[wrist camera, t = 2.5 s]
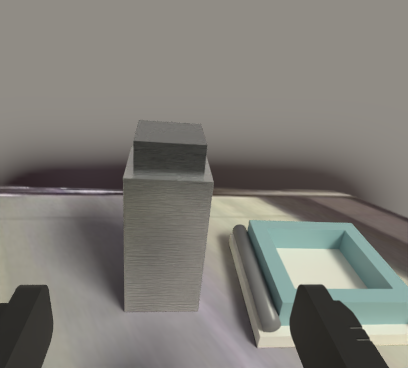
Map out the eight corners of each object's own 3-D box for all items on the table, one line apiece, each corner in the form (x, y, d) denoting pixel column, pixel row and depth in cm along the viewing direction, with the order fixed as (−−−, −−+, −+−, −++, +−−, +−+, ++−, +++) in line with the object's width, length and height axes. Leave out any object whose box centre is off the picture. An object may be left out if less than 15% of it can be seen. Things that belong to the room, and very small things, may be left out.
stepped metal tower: (124, 311, 23) (122, 143, 18) (131, 263, 27) (131, 117, 22) (198, 311, 23) (217, 148, 18) (193, 264, 28) (207, 122, 23)
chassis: (257, 347, 21) (265, 313, 20) (228, 242, 31) (233, 214, 30) (430, 344, 23) (448, 311, 21) (350, 245, 33) (360, 218, 31)
